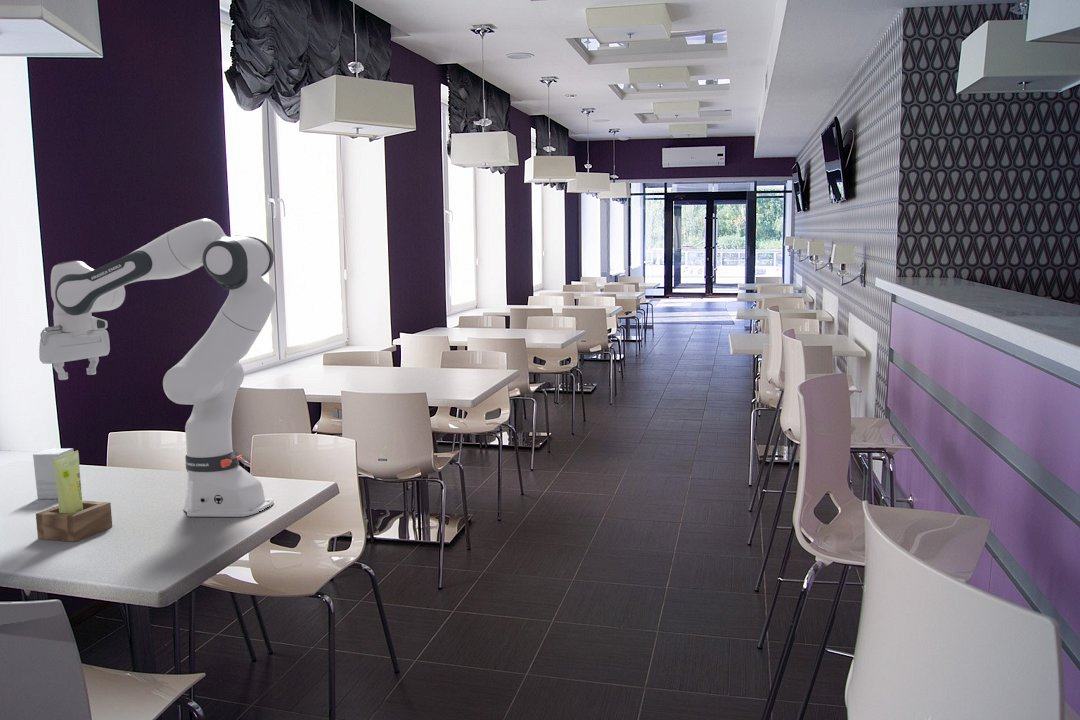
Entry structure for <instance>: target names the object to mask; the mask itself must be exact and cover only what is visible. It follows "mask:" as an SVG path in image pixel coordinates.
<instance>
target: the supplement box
mask: <svg viewBox="0 0 1080 720" xmlns="http://www.w3.org/2000/svg"><path fill="white" fill-rule="evenodd" d="M71 452H74V448H69V447H68V448H48V449H45V450H41V451H39V452H36V453H34V454H32V458H33V459H32V460H33V467H34V479H35V487H36V497H37V499H38V500H42V499H43V500H58V494H57V485H56V475H55V467H54V458H56V457H59V456H62V455H65V454H68V453H71Z"/></svg>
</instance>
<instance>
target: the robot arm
mask: <svg viewBox="0 0 1080 720" xmlns="http://www.w3.org/2000/svg"><path fill="white" fill-rule="evenodd" d="M274 259H275V258H274V252H273V250H272V247H271V246H270V245H269V244H268V243H267V242H266V241H264V240H262V239H260V238H258V237H255V236H243V235H233V236H227V234H225V232H224V230H223V228H222V227H221V226H220V224H218V223H217V222H216V221H214V220H212V219H209V218H200V219H197V220H192V221H190V222H187V223H184V224H182V225H179V226H178V227H174V228H173V229H171V230H169V231H167V232H165V233H164V234H162V235H159V236H158V237H157V238H154V239H153V240H152V241H150V242H148V243H147V244H145V245H143V246H140V247H139V248H138V249H135V250H134V251H132V252H130V253H128V254H126V255H124V256H121V257H120V258H117V259H115V260H112V261H110V262H109V263H106V264H104V265H102V266H100V267H97V268H95V269H94V268H92V267H90V266H89V265H88V264H87V263H86V262H84V261H81V260H71V261H63V262H59V263H57V264H55V265H54V266H52V269H51V271H50V272H51V273H50V294H51V295H50V296H51V298H52V301H53V311H52V316H53V317H52V318H53V326H46V327H44V328H43V329H42V331H41V332H40V335H39V336H40V338H39V345H38V346H39V349H38V351H39V353H38V354H39V355H38V356H39V361H40V362H41V363H42V364H45V365H46V364H47V365H52V367H53V369H54V370H55V372H56V373H57V377H58V378H57V379H58V380H59V381H65V380H68V379H69V373H68V372H69V371H68V372H66V371H65V368H64V367H65V363H66V362H72V361H79V360H86V359H88V362H89V364H88V367H86V368H85V369H86V375H88V376H92V375H93V376H94V375H96V374H97V367H98V364H99V362H100V359H99V357H105V356H108V355H109V353H110V350H111V347H110V346H111V345H110V335H109V332H108V330H107V328H108V321H107V320H105V319H102V318H98V317H95V316H92V315H93V314H92V313H100V312H101V313H102V312H107V311H108V312H109V311H112V310H116V309H119V308H120V307H121V306H122V305H123V304H124V302H125V300H126V294H127V293H126V292H127V291H126V287H125V286H126V285H129V284H132V283H137V282H142V281H151V280H165V279H167V280H168V279H173V278H177V277H179V276H184V275H186V274H189V273H191V272H193V271H195V270H197V269H199V268H201V267H204V269H205V271H206V272H207V274H208V275H209V276H210V277H211V278H213V279H214V280H215V281H216V282H217V283H218V284H219V285H220V287H221V288H222V289H224V290H226V291H227V290H229V293H228V296H227V298H226V299H225V301H224V303H223V305H222V306H221V307H220V309H219V311H218V312H217V314H216V316H215V318H214V319H213V321H212V322H211V324H210V326H209V328H207V330H206V332H205V333H204V334H203V336H201V338H199V340H198V341H197V342H196V343H195V344H194V345H193V347H192V348H191V349H190V350H188V351H187V353H186V354H185V355H184V356H183V358H182V359H180V360H179V361H178V362H177V363H176V364H175V365H174V366H172V367H171V368H170V369H168V370H167V371H166V373H165V374H164V376H163V379H162V387H163V391H164V393H165V395H166V397H167V398H168V399H169V400H170V401H172V403H175V404H178V405H193V407H192V410H191V414H190V416H189V418H188V419H187V421H186V423H185V426H184V431H185V444H186V448H185V449H186V454H185V456H184V457H185V470H186V473H187V483H186V484H187V486H186V487H187V488H186V497H185V502H184V506H183V510H184V511H185V512H186V513H187V514H186V515H187V517H209V518H210V517H217V518H218V517H221V518H223V517H227V518H228V517H229V518H230V517H231V518H232V517H233V518H235V517H236V518H237V517H238V518H239V517H241V518H242V517H247V516H251V515H255V514H258V513H260V512H259V511H261V512H263V511H265V510H266V509H265V508H267V507H269V506H270V507H271V505H272V504H273V505H274V503H273V502H274V499H273V498H271V497H266V496H265V493H264V487H263V485H262V482H261V481H260V480H259V479H258V478H256V477H255V476H254V475H253V474H251V473H250V472H248V471H247V469H245V468H243V467H242V466H241V465H240V462H239V461H240V460H242V459H243V457H242V456H243V454H239V455H236V453H235V451H234V450H233V437H232V435H233V434H232V417H233V412H234V405H235V402H236V397H237V393H238V390H239V388H240V387H241V385H242V384H243V382H244V376H245V372H244V368H243V365H242V364H241V362H240V360H241V359H243V358H244V357H245V356H246V355H247V354H248V353H249V351H250V349H251V348H252V346H253V345H254V343H255V342H256V339H257V338H258V337H259V336H260V334H261V332H262V330H263V328H264V326H265V325H266V323H267V320H268V319H269V317H270V315H271V313H272V311H273V307H274V306H275V305H274V304H275V302H276V297H277V296H276V292H275V290H274V288H273V287H272V286H271V285H270V284H269V283H268V282H267V281H265V280H264V278H263V277H264V276H265V275H267V273H269V271H271V269H272V267H273V264H274ZM273 505H272V506H273ZM270 507H269V508H270ZM264 509H265V510H264ZM267 509H268V508H267ZM262 510H263V511H262Z"/></svg>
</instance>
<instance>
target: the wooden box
mask: <svg viewBox="0 0 1080 720" xmlns="http://www.w3.org/2000/svg"><path fill="white" fill-rule="evenodd" d="M82 504H83V510H82V511H79V512H76V513H74V514H68V513H59V505H57V506H54V507H51V508H48V509H45V510H43V511H39V512H37V513H35V520H36V532H37V539H38V538H39V539H38V540H47V539H50V540H49V541H59V540H64V541H63V542H70V541H72V543H76V542H78V540H79V541H82V540H83V539H86V538H88V537H91V536H93V535H95V534H98V533H100V532H103V531H105V530H107V528H108V529H110V528H112V527H113V517H112V506H111V501H110V502H108V501H107V502H106V501H93V500H82ZM109 527H110V528H109Z"/></svg>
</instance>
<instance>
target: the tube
mask: <svg viewBox="0 0 1080 720" xmlns="http://www.w3.org/2000/svg"><path fill="white" fill-rule="evenodd" d="M54 467H55V475H56V485H57V494H58V499H57V502H58V506H59V513H68V514H74V513H76V512H79V511H82V510H83V504H82V501H83V495H82V494H83V493H82V492H83V491H82V483H81V469H80V467H81V466H80V454H79V450H78V449H77V450H75V451H74V452H71V453H68V454H65V455H62V456H59V457H56V458H54Z"/></svg>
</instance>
